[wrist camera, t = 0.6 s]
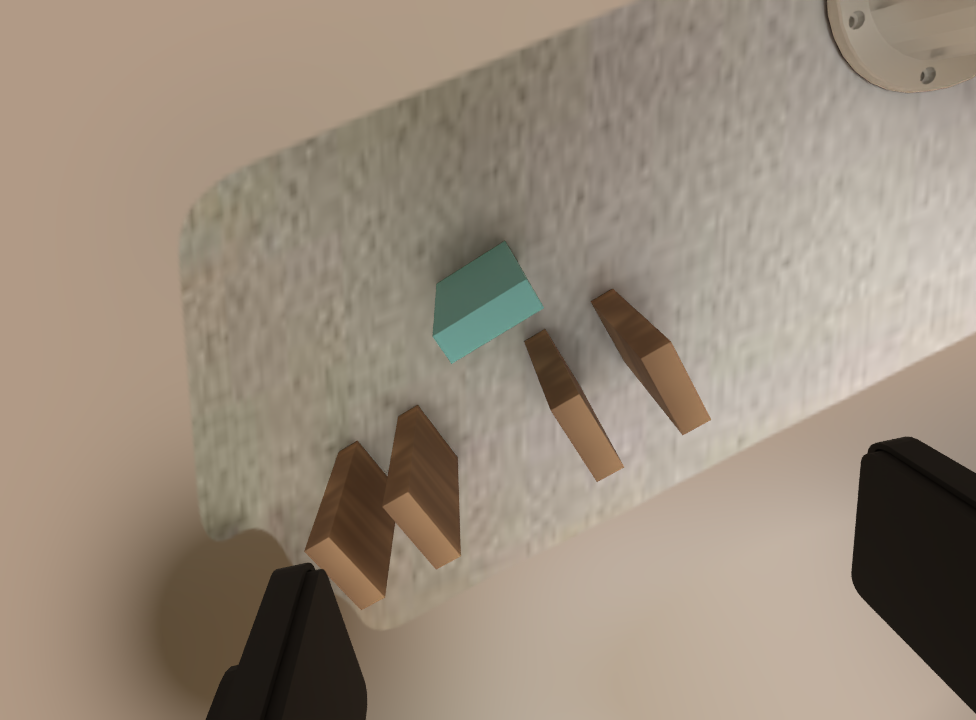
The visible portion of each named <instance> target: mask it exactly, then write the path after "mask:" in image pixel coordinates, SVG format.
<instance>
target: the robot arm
mask: <svg viewBox="0 0 976 720" xmlns="http://www.w3.org/2000/svg"><path fill="white" fill-rule="evenodd" d="M827 8H828V17H829V21H830V25H831V29H832V33H833V36H834V39H835V41H836V43H837V45H838V47H839V49H840V51H841V53H842V55H843V57H844V58H845V59H846V61H847V62H848V63H849V64H850V65H851V67H852V68H853V69H854V70H855V72H857V73H858V74H859V75H861V76H862V77H863V78H865V79H866V80H867V81H869V82H870V83H872V84H875V85H877V86H879V87H882V88H884V89H887V90H891V91H898V92H905V93H911V92H926V91H933V90H938V89H944V88H949V87H951V86H954V85H957V84H959V83H962V82H964V81H967V80H969V79H971V78H973V77H975V76H976V0H827ZM851 573H852V581H853V584H854V586H855V589H856V590H857V592H858V593H859V595H860V596H861V597H862V598H863V599H864V600H865V601H866V602H867V603H868V605H870V607H871V608H872V609H873V610H874V611H876V613H877V614H878V615H879V616H880V617H881V618H882V619H883V620H884V621H885V622H887V624H888V625H889V626H890V627H891V628H892V629H893V630H894V631H895V632H896V633H897V634H898V635H899V636H900V637H901V638H902V639H903V640H904V641H905V642H906V643H907V644H908V645H909V646H910V647H911V648H912V649H913V650H914V651H915V652H916V653H917V654H918V655H919V656H920V657H921V658H922V659H923V660H924V662H925V663H926V664H928V666H930V668H931V669H932V670H933V671H934V672H935V673H936V674H937V675H938V676H939V677H940V678H941V679H942V680H943V681H944V682H945V683H946V684H947V685H948V686H949V687H950V688H951V689H952V690H953V691H954V692H955V693H956V694H957V695H958V696H959V697H960V698H961V699H962V700H963V701H964V702H965V703H966V704H967V705H968V706H969V707H970V708H971V709H972V710H973V711H974V712H975V713H976V473H974V472H973V471H971V470H969V469H967V468H966V467H964V466H962V465H961V464H959V463H957V462H955V461H954V460H952V459H950V458H949V457H947V456H945V455H943V454H942V453H940V452H938V451H937V450H935V449H933V448H931V447H930V446H928V445H926V444H925V443H923V442H921V441H919V440H918V439H915V438H913V437H902V438H897V439H892V440H887V441H883V442H878V443H875V444H872V445H871V446H870V448H869V449H868V453H867V454H866V455H864V456H863V457H862V460H861V468H860V479H859V491H858V503H857V514H856V526H855V537H854V549H853V561H852V572H851ZM366 712H367V691H366V685H365V681H364V678H363V675H362V672H361V669H360V667H359V664H358V661H357V658H356V655H355V652H354V649H353V646H352V644H351V641H350V638H349V635H348V632H347V629H346V627H345V624H344V621H343V618H342V615H341V613H340V610H339V607H338V604H337V601H336V598H335V595H334V592H333V590H332V587H331V584H330V581H329V578H328V575H327V573H326V571H325V570H324V569H319V570H315V568H314V566H313V565H312V564H311V563H304V564H299V565H294V566H290V567H285V568H281V569H276V570H275V571H274V572H273V573H272V575H271V578H270V580H269V583H268V586H267V588H266V591H265V594H264V597H263V600H262V602H261V605H260V608H259V610H258V613H257V616H256V619H255V621H254V624H253V627H252V629H251V632H250V635H249V638H248V640H247V643H246V646H245V648H244V651H243V654H242V657H241V660H240V662H239V665H236V666H231V667H230V668H229V669H228V670H227V671H226V672H225V674H224V676H223V678H222V680H221V682H220V684H219V687H218V689H217V692H216V695H215V697H214V699H213V702H212V705H211V707H210V710H209V712H208V715H207V718H206V720H366Z"/></svg>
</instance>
